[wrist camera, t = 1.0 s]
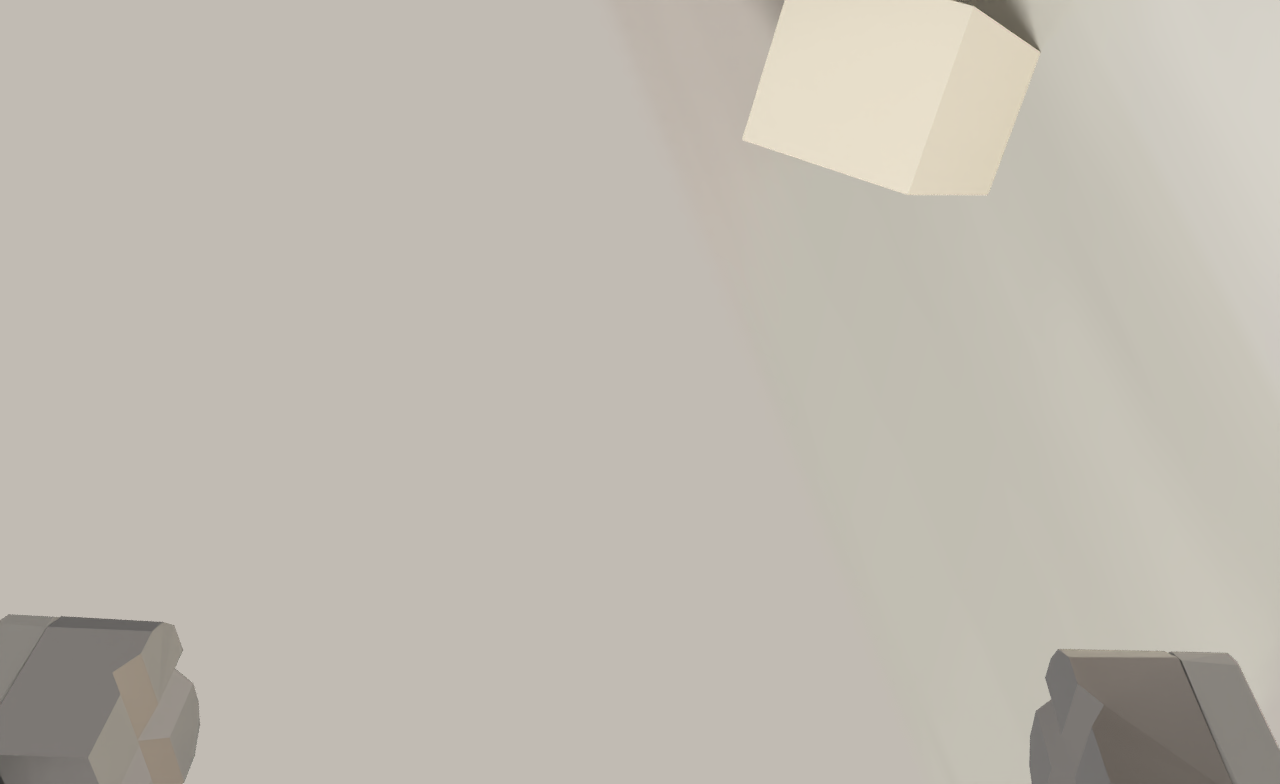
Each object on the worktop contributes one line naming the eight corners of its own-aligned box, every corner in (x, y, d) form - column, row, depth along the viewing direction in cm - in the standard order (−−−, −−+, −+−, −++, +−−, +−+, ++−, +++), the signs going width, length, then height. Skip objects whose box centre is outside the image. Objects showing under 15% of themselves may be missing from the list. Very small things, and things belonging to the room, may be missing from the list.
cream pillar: (902, 14, 38) (797, -41, 29) (1040, 52, 36) (973, 5, 28) (856, 152, 39) (741, 139, 30) (988, 195, 38) (907, 195, 29)
